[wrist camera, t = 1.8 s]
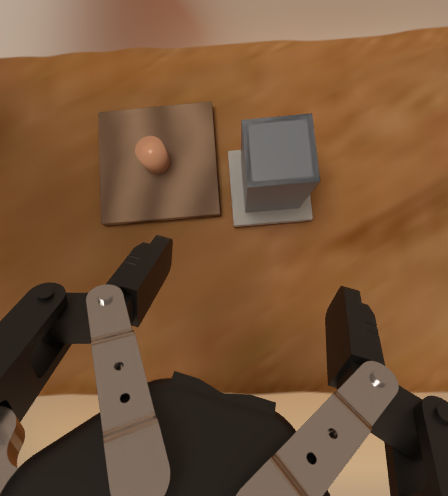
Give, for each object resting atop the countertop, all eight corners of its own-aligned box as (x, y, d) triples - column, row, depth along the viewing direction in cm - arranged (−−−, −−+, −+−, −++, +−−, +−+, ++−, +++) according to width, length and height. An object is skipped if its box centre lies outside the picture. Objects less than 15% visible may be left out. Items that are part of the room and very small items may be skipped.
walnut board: (104, 225, 37) (101, 223, 36) (102, 116, 38) (98, 112, 38) (220, 215, 36) (219, 213, 35) (212, 106, 38) (211, 101, 37)
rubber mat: (233, 227, 36) (233, 225, 35) (228, 154, 37) (227, 151, 36) (310, 220, 36) (312, 219, 35) (302, 148, 37) (304, 144, 36)
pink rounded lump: (144, 175, 36) (135, 164, 33) (143, 150, 37) (134, 137, 33) (171, 173, 36) (164, 162, 33) (169, 147, 36) (163, 134, 33)
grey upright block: (245, 212, 35) (247, 187, 26) (240, 161, 36) (241, 120, 27) (299, 208, 35) (320, 181, 26) (293, 156, 36) (311, 113, 27)
